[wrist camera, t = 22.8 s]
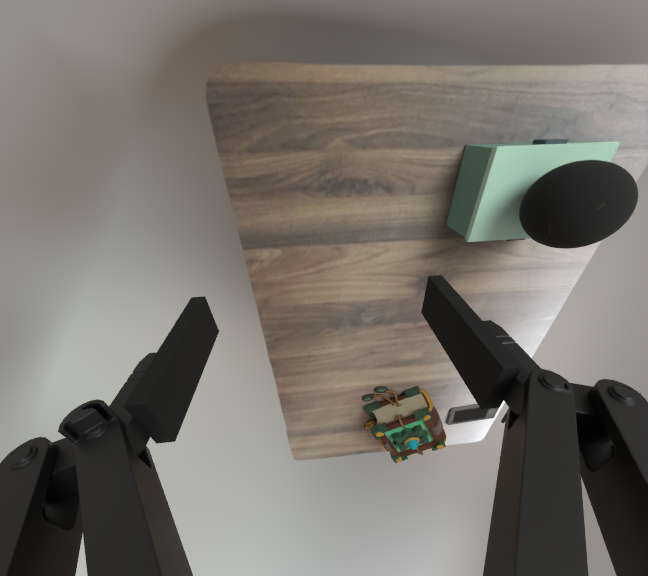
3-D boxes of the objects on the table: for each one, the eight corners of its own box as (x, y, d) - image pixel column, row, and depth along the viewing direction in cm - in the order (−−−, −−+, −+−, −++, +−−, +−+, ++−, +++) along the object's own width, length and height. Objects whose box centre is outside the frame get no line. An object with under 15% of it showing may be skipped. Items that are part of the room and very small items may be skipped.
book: (343, 399, 68) (350, 437, 59) (418, 370, 64) (437, 407, 56) (376, 440, 82) (385, 475, 73) (439, 418, 78) (456, 453, 70)
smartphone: (446, 423, 80) (447, 425, 79) (450, 408, 75) (451, 410, 75) (492, 415, 80) (493, 418, 79) (499, 400, 75) (500, 403, 75)
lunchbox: (443, 228, 43) (467, 245, 38) (465, 139, 36) (498, 142, 30) (533, 223, 44) (569, 238, 39) (571, 135, 37) (623, 137, 31)
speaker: (591, 178, 34) (689, 196, 25) (530, 242, 38) (596, 274, 30) (547, 139, 31) (641, 145, 22) (486, 213, 35) (546, 241, 27)
